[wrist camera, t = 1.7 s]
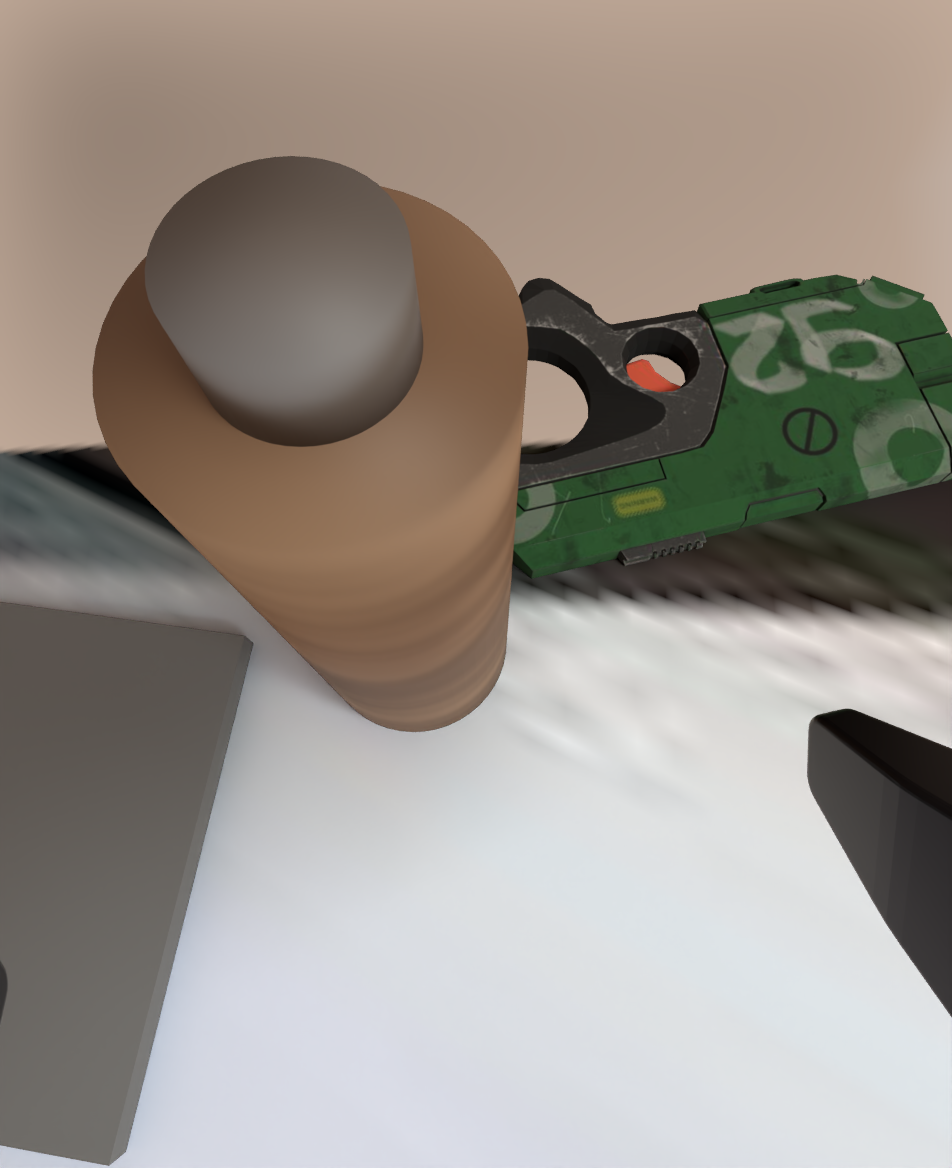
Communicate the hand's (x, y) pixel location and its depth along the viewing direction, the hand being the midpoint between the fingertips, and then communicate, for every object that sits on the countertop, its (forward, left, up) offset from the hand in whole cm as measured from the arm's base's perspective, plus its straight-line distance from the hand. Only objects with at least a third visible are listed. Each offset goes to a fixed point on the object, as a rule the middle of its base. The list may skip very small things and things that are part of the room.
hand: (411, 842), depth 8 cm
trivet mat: (-2, +12, -12) cm, 17 cm away
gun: (+14, -5, -12) cm, 20 cm away
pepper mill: (+5, +2, -12) cm, 13 cm away
